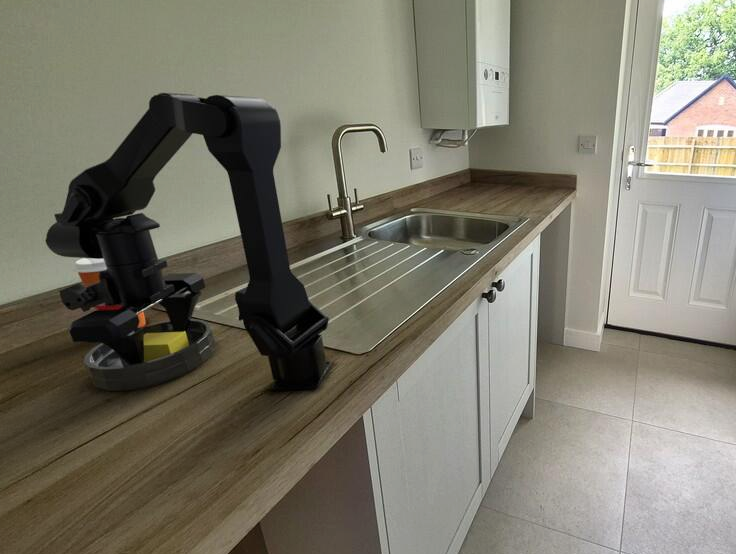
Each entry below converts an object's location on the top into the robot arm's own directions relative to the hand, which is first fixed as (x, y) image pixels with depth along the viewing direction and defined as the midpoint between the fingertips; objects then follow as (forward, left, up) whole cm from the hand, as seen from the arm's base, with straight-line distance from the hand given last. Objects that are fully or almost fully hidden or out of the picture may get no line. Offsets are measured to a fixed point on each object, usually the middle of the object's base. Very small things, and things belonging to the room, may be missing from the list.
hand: (161, 351), depth 65 cm
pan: (+1, 0, -2) cm, 2 cm away
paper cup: (+16, -13, -2) cm, 21 cm away
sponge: (0, 0, -2) cm, 2 cm away
